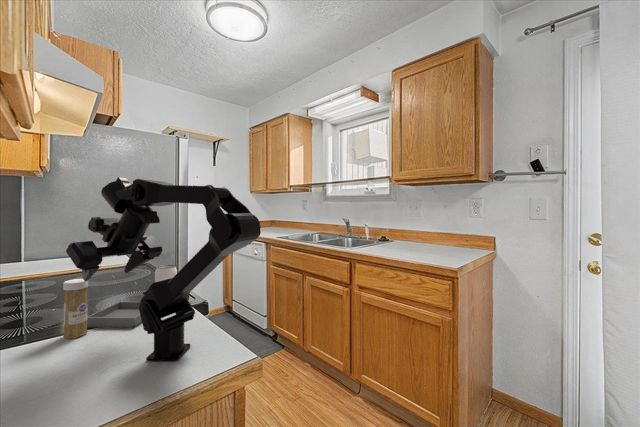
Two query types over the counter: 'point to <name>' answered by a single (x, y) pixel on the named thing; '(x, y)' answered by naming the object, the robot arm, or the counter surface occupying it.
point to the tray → (116, 316)
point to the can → (165, 272)
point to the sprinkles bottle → (75, 308)
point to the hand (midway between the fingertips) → (106, 275)
